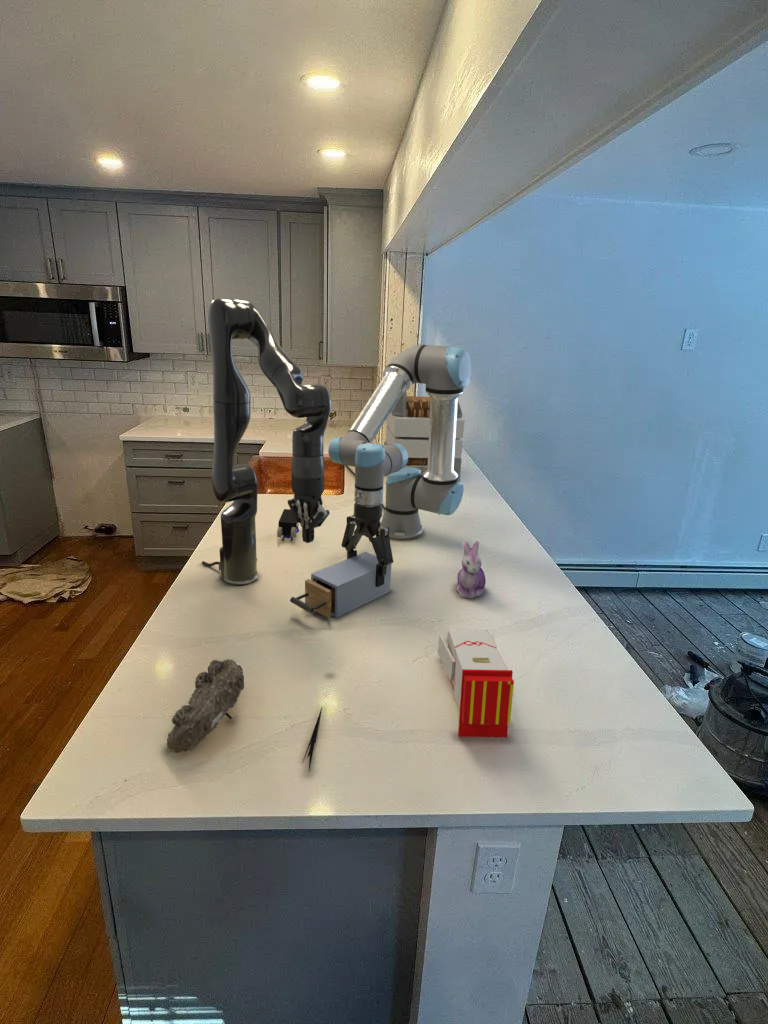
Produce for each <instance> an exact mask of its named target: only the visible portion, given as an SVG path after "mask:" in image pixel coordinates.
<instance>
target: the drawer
mask: <svg viewBox="0 0 768 1024" xmlns="http://www.w3.org/2000/svg"><path fill="white" fill-rule="evenodd" d="M301 599H304V601H302V600H301ZM289 602H290V603H291V604H293V605H295V606H297V607H299V608H301V609H302V610H304V611H306V612H308V613H309V614H314V612H317V613H319V614H321V615H323V616H324V617H326V618H330V617H331V616H332V615H331V611H335V588H334V587H332V586H330V585H328V584H326V583H324V582H322V581H320V580H318V579H314V582H313V581H311V579H309V578H308V579H305V580H304V594H301V595H298V596H296V597H295V596H291V598H290V600H289Z"/></svg>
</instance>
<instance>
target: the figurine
mask: <svg viewBox="0 0 768 1024" xmlns="http://www.w3.org/2000/svg"><path fill="white" fill-rule="evenodd" d="M479 548H480V541H479V540H476V541H475V542H474V543H473V546H472V547H470V545H469V543H468V542H467V541H464V542H463V552H464V553H463V555H464V556H463V558H462V559H461V567H462V568H461V569H460V570H459V571H458V573H457V577H456V578H457V580H456V581H457V582H456V586H455V589H456V592H457V593H458V595H459V596H460V597H462V598H468V599H473V598H477V597H480V596H481V595H482V594H483V593H484V590H485V587H486V581H487V580H486V579H487V578H486V575H485V571H484V570H483V568H482V565H483V564H482V560H481V558H480V556H479V555H480V554H479Z"/></svg>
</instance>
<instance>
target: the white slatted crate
mask: <svg viewBox="0 0 768 1024" xmlns="http://www.w3.org/2000/svg"><path fill="white" fill-rule="evenodd" d="M407 394H408V393H407V391H404V392H403V393H402V395H401V397H400V398H399V400H398V401H397V403H396V405H395V406H394V408H393V409H392V411H391V413H390V414H389V416H388V417H387V419H386V421H385V423H386V428H385V438H384V442H383V445H389V444H400V445H402V446H403V447H404V448H405V449H406V451H407V453H408V462H407V464H406V467H409V466H411V467H417V466H418V467H428V442H429V416H430V396H415V395H414V396H413V395H412V396H411V395H407ZM464 429H465V419H464V418H463V411H462V408H461V405H460V402H459V401H458V403H457V420H456V437H455V454H454V471H455V472H456V473H457V474H458V482H461V472H462V461H463V460H462V453H463V442H464V441H463V440H462V439H463V438H464V431H465V430H464Z"/></svg>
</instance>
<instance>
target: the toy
mask: <svg viewBox="0 0 768 1024" xmlns="http://www.w3.org/2000/svg"><path fill="white" fill-rule="evenodd" d="M446 640H447V643H446V641H445V639H444V636H443V635H442V634H439V637H438V646H437V656H438V657H439V659H440V661H441V663H442V666H443V668H444V670H445V672H446V674H447V677H448V679H449V681H450V684H451V687H452V690H453V693H454V697H455V701H456V705H457V708H458V711H459V714H458V715H459V716H458V730H457V731H458V732H457V737H458V738H508V731H509V726H510V725H511V717H512V707H513V697H514V696H513V695H514V684H515V680H514V679H513V673H514V671H513V670H512V669H508V667H507V665H506V662H505V661H504V659H503V658H502V655H501V653H500V651H499V649H498V647H497V643H496V639H495V637H494V635H493V634H491V632H490V631H489V629H467V628H466V629H465V628H463V629H461V628H460V629H459V628H448V630H447V639H446Z"/></svg>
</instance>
